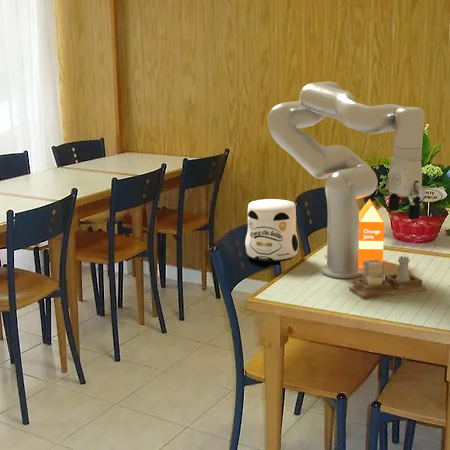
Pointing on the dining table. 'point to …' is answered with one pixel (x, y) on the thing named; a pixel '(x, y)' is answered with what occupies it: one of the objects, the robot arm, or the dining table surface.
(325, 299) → the dining table surface
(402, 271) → the rook chess piece
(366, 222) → the orange juice
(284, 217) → the milk container
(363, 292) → the wooden compartment tray
